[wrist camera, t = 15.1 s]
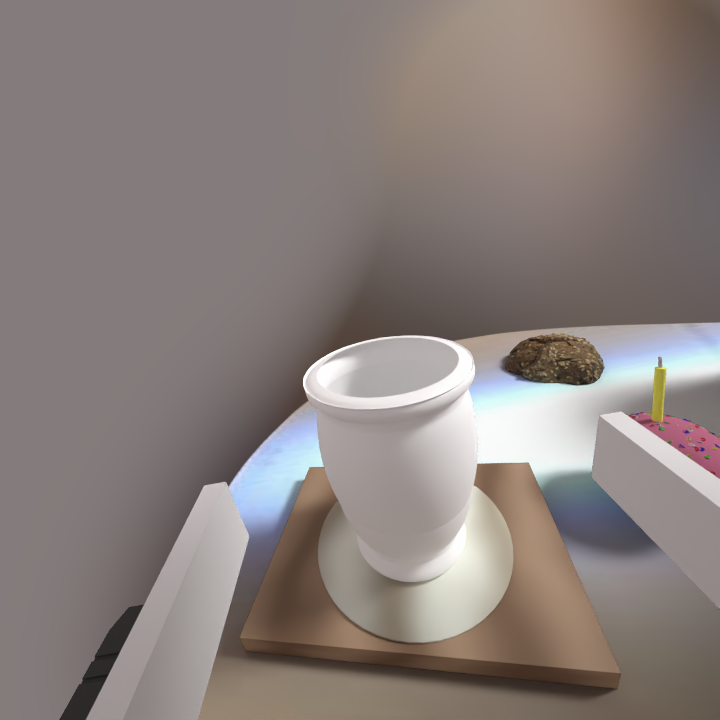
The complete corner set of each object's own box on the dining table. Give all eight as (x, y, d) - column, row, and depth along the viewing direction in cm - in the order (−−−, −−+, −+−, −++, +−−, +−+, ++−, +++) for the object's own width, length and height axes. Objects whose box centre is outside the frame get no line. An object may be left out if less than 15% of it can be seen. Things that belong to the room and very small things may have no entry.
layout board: (528, 474, 32) (528, 461, 32) (617, 688, 18) (621, 671, 17) (312, 478, 37) (309, 465, 36) (245, 650, 22) (238, 636, 22)
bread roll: (593, 351, 54) (596, 321, 52) (610, 388, 44) (615, 353, 42) (506, 350, 59) (506, 324, 57) (503, 383, 49) (504, 352, 47)
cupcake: (571, 465, 33) (583, 352, 28) (667, 458, 32) (696, 339, 27) (632, 545, 25) (662, 406, 20) (762, 538, 24) (825, 390, 19)
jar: (348, 615, 22) (294, 423, 16) (342, 496, 31) (307, 349, 26) (507, 584, 22) (510, 383, 16) (453, 475, 32) (443, 324, 26)
